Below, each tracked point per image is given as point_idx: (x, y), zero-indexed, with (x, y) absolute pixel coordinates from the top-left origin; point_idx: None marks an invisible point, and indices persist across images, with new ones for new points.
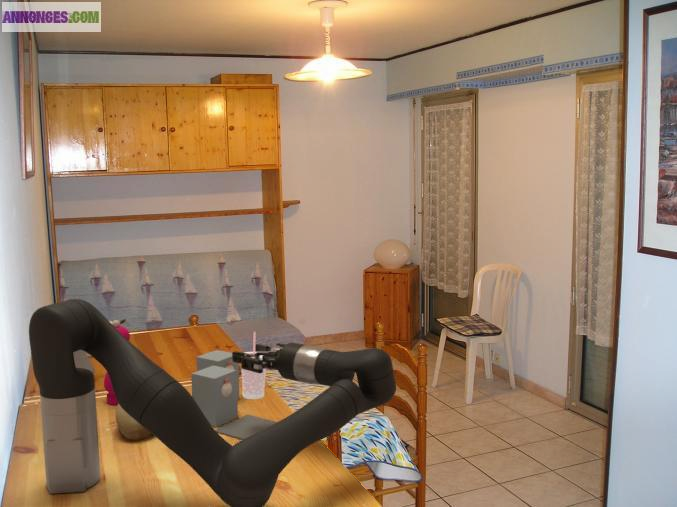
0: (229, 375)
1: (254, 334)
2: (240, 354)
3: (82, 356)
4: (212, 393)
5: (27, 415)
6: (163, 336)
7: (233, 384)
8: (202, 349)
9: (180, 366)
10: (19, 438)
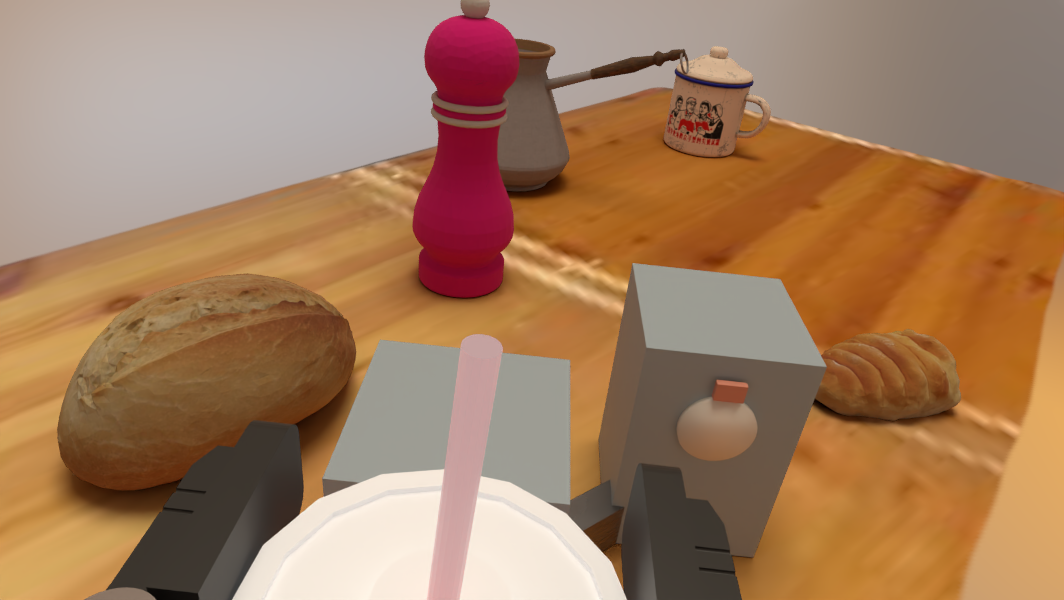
0: None
1: (461, 389)
2: (199, 522)
3: (523, 115)
4: None
5: (271, 199)
6: (896, 171)
7: None
8: (942, 248)
9: (794, 266)
10: (99, 242)
